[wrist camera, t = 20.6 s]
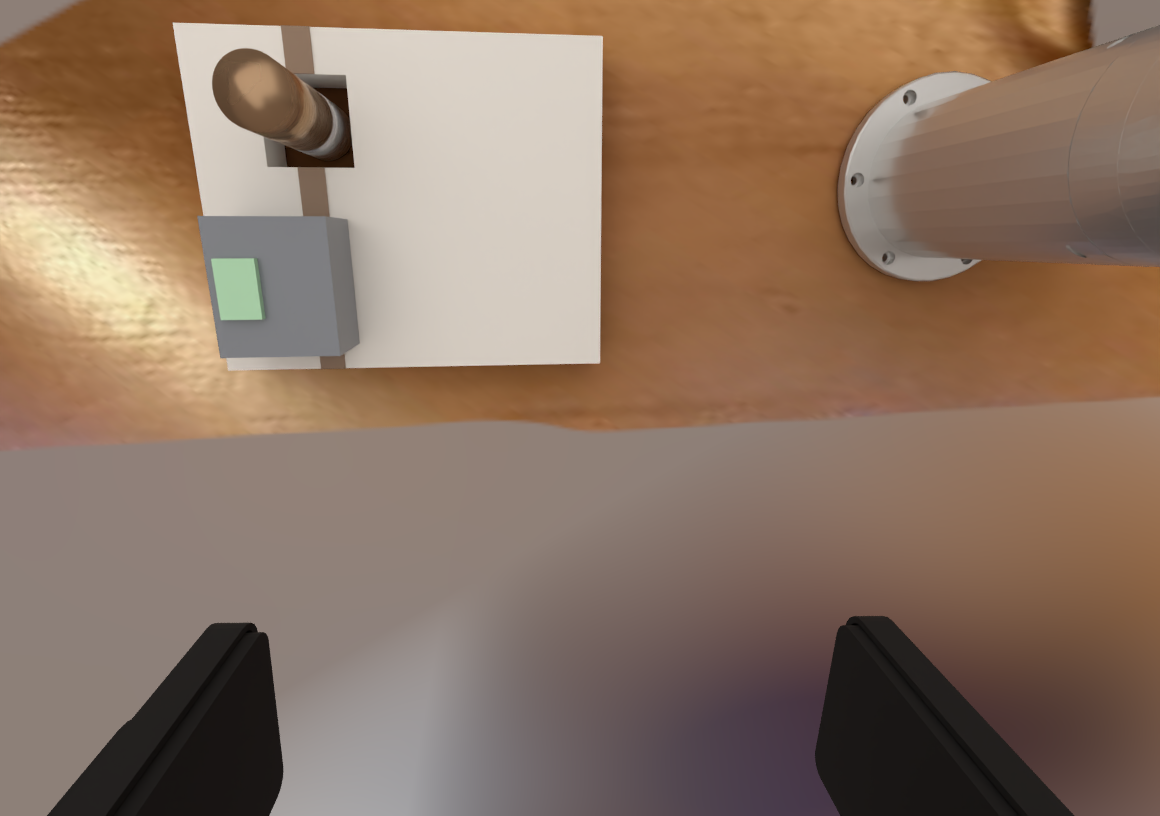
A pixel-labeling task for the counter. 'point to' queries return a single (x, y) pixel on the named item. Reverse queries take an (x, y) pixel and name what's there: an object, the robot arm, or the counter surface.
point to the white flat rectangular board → (431, 185)
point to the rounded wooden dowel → (279, 105)
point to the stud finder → (280, 285)
